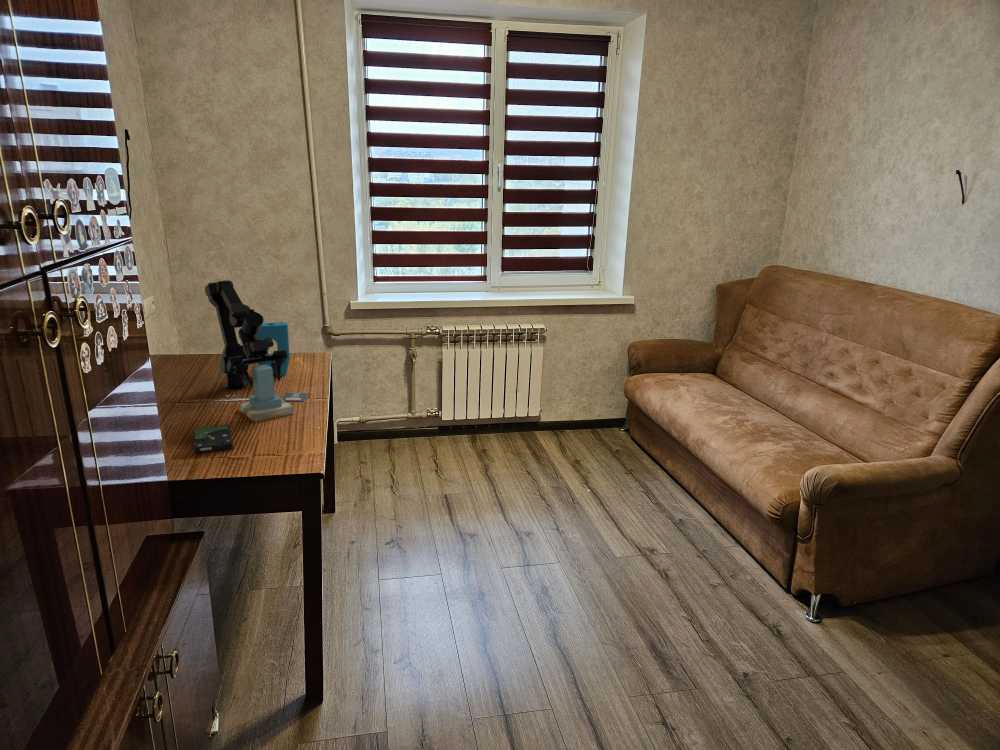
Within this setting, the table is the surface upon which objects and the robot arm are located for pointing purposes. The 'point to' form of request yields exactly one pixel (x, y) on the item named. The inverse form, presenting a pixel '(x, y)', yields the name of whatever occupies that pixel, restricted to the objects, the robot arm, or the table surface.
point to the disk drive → (212, 439)
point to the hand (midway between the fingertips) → (265, 382)
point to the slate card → (295, 397)
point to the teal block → (264, 389)
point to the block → (278, 335)
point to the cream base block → (265, 411)
